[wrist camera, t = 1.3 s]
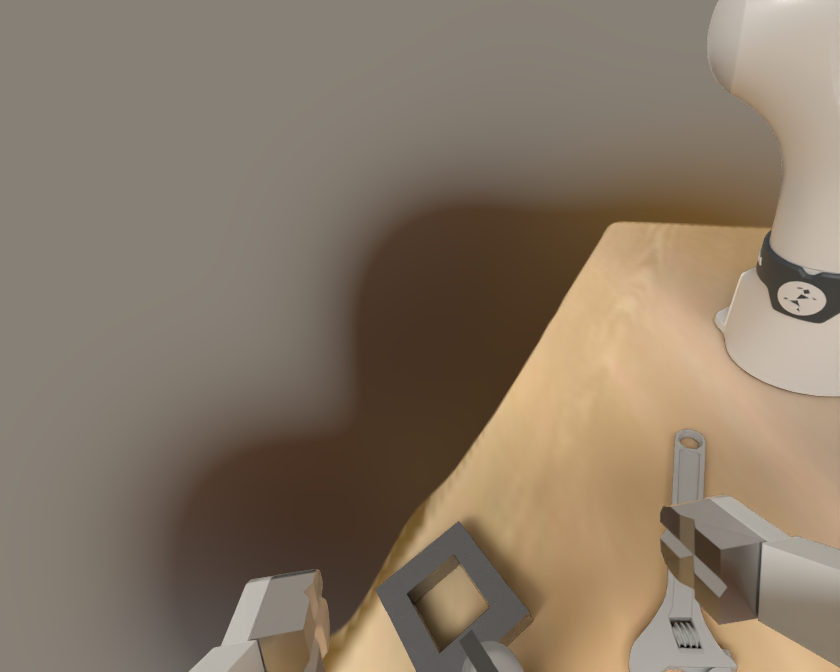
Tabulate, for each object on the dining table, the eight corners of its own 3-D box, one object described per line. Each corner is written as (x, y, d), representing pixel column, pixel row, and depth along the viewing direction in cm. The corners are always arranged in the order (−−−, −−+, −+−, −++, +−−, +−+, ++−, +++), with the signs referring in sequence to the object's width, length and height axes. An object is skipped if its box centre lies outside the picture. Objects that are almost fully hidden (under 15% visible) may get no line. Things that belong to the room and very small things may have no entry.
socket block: (464, 532, 43) (458, 521, 41) (532, 621, 35) (529, 611, 34) (384, 598, 40) (375, 589, 39) (440, 710, 33) (431, 704, 31)
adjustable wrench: (674, 434, 45) (675, 424, 44) (748, 452, 41) (752, 442, 40) (621, 698, 31) (622, 693, 29) (728, 761, 27) (733, 758, 26)
